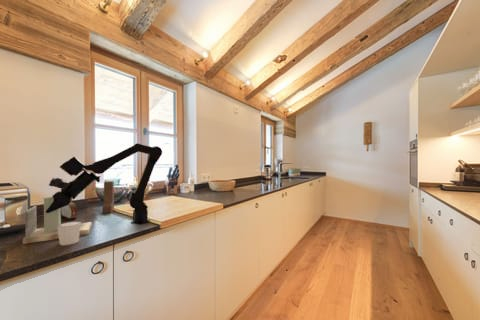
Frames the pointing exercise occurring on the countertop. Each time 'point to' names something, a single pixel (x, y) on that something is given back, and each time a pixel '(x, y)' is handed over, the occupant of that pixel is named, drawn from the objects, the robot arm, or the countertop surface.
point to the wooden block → (108, 197)
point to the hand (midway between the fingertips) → (48, 211)
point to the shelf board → (39, 234)
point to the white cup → (69, 233)
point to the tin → (69, 211)
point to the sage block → (51, 216)
